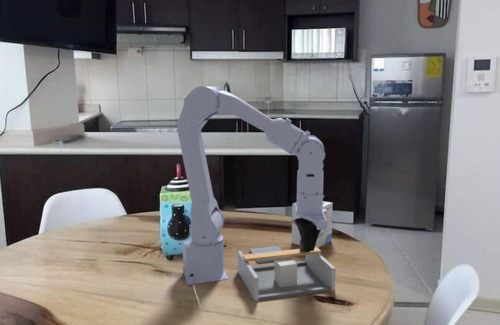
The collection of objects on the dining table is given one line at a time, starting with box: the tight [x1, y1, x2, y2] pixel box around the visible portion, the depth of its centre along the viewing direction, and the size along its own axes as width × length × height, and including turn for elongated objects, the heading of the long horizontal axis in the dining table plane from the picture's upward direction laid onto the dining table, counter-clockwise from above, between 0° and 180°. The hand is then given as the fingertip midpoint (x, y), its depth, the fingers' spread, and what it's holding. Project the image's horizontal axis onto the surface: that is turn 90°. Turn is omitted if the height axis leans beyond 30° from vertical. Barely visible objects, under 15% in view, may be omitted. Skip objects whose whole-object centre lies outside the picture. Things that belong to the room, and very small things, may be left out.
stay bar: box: [243, 239, 322, 262], centre depth 101 cm, size 18×2×3 cm, turn 105°
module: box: [273, 257, 297, 287], centre depth 100 cm, size 4×4×5 cm
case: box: [237, 250, 337, 302], centre depth 100 cm, size 18×15×6 cm
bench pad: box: [249, 245, 288, 264], centre depth 115 cm, size 8×8×1 cm
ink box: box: [291, 195, 334, 249], centre depth 125 cm, size 9×8×13 cm
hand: (308, 250), depth 100 cm, fingers closed
